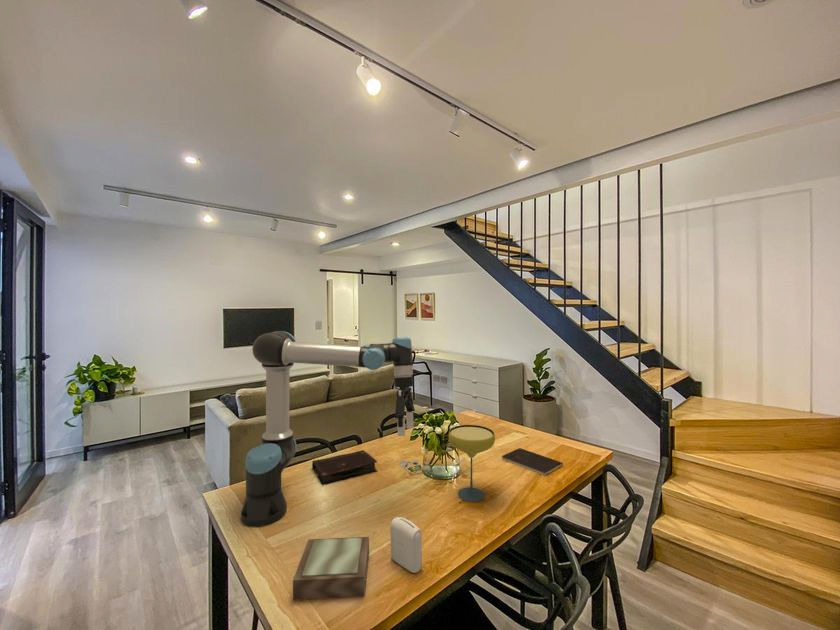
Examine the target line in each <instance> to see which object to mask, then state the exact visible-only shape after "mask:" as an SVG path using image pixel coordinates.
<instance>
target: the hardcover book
mask: <svg viewBox="0 0 840 630" xmlns="http://www.w3.org/2000/svg"><path fill="white" fill-rule="evenodd" d="M501 457H502V458H501V459H502V460H503V461H505V462H508V463H511V464H513V465H516V466H519V467H520V468H524V469H526V470H529V471H530V472H531V471H532V472H533V473H536V474H539V475H541V476H544V477H545V476H547V475H549V474H551V473H553V472H554V471H555V470H557V469H560V467H563V462H562V461H559V460H555V459H552V458H549V457H547V456H544V455H541V454H539V453H535V452H532V451H530V450H527V449H524V448H521V447H519V448H517V449H515V450H512V451H510V452H507V453H505V454H503V455H501Z"/></svg>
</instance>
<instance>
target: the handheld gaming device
mask: <svg viewBox="0 0 840 630" xmlns="http://www.w3.org/2000/svg"><path fill="white" fill-rule="evenodd" d="M411 459H412V458H411ZM405 460H406V459H404V460H400V461H398V462H397V463H398V464H399V465H400V466H401V467H402V468H403V469H404V468H405V469H406V470H405V469H404V470H405V471H407V472H408V473H409V470H410V471H411V472H414V471H417V472H416V473H414V475H417V473H418V474H421V472H422V471H421V465H422V464H421V463H420V462H419V461H418V460H416V459H415V458H413V459H412V460H413V461H412V464H413V465H415V466H413V467H415V468H413V467H412V466H410V465H409V464H408V463H411V462H408V461H410V460H408V459H407V460H408V461H405ZM401 462H402V463H401ZM403 462H404V463H403ZM407 466H410V467H409V468H408V467H407ZM406 467H407V468H406ZM411 472H410V473H411ZM410 473H409V474H410ZM422 473H423V472H422Z"/></svg>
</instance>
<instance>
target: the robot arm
mask: <svg viewBox="0 0 840 630" xmlns="http://www.w3.org/2000/svg"><path fill="white" fill-rule="evenodd" d="M251 349H252V355H253V357H254V358H255V360H256V361H257V362H259V363H261V367H262V368H263V369H264V370H265V377H266V378H265V379H266V380H265V394H266V395H265V432H263V433H262V435H261V444H260V445H258V446H254V447H252V448H251V449H250V450H249V451H248V452H247V454H246V455H245V456H246V457H245V465H244V466H245V498H244V501H243V505H242V508H241V511H240V522H241V524H243V525H244V526H246V527H251V528H252V527H254V528H255V527H256V528H257V527H258V528H259V527H264V526H267V525H272V524H274V523H275V522H278V521H279V520H281V519H282V518H283V517H284V516H285V515H286V514H287V510H288V507H287V506H288V504H287V501H286V498H285V495H284V493H283V490H282V473H283V471H284V470H285V469H286V468H287V466H288V465H289V464H290V462H291V461H292V460H293V458H294V457H295V455H296V452H297V442H296V439H295V438H294V431H293V430H292V429H290V370H291V369H292V368H293V366H294V364H305V365H306V364H307V365H322V366H323V365H324V366H336V367H338V366H340V367H353V368H354V367H356V368H365V369H367V370H371V371H376V370H378V369H381V367H382V366H383V365H384V364H385V363H393V376H394V381H393V382H394V385H393V386H394V387H395V388H399V390H396V402H395V415H394V419H396V423H397V425H396V426H397V436H398V437H406V429H414V428H415V426H414V412H415V411H416V409H415V406H414V400H413V395H412V393H413V392H412V387H413V386H414V384H415V383H414V377H413V375H414V370H415V368H414V367H413V347H412V339H411V338H410V337H406V336H402V337H401V336H400V337H393V338H392V342H389V343H369V344H364V345H363V346H361V345H348V344H347V345H344V344H331V343H319V342H318V343H317V342H305V341H302V342H301V341H297V339H296V338H295V337H294V336H293V335H292V334H290V333H289V332H287V331H283V330H282V331H281V330H277V331H273V332H267V333H263V334H261V335H260V336H258V337H257V338H256V339H255V340H254V342H253V345H252V347H251ZM405 410H406V411H405ZM405 418H406V419H405ZM405 422H406V423H405Z"/></svg>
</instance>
